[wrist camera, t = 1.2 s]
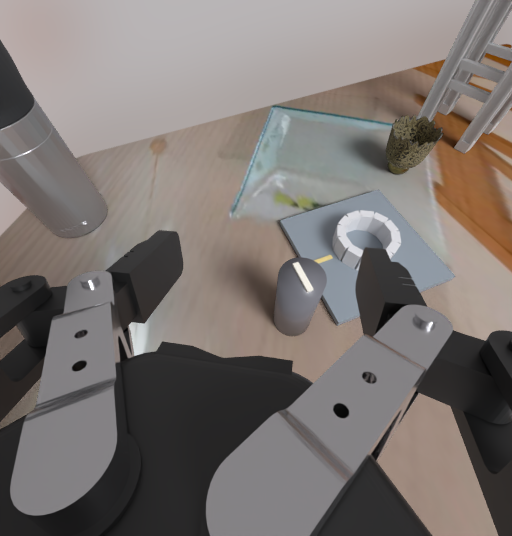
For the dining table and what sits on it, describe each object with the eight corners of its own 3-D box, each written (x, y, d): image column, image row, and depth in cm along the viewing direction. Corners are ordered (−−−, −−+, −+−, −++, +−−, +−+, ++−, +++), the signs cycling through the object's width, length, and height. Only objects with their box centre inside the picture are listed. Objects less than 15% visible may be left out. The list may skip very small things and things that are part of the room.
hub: (279, 224, 44) (281, 206, 40) (376, 193, 47) (385, 175, 43) (337, 325, 35) (345, 314, 31) (451, 279, 38) (470, 264, 34)
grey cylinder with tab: (268, 309, 36) (270, 264, 26) (299, 297, 37) (313, 249, 27) (282, 341, 34) (290, 305, 24) (315, 328, 35) (336, 288, 25)
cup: (368, 159, 51) (385, 117, 44) (404, 153, 52) (426, 111, 45) (387, 186, 48) (408, 145, 41) (425, 179, 48) (453, 137, 41)
